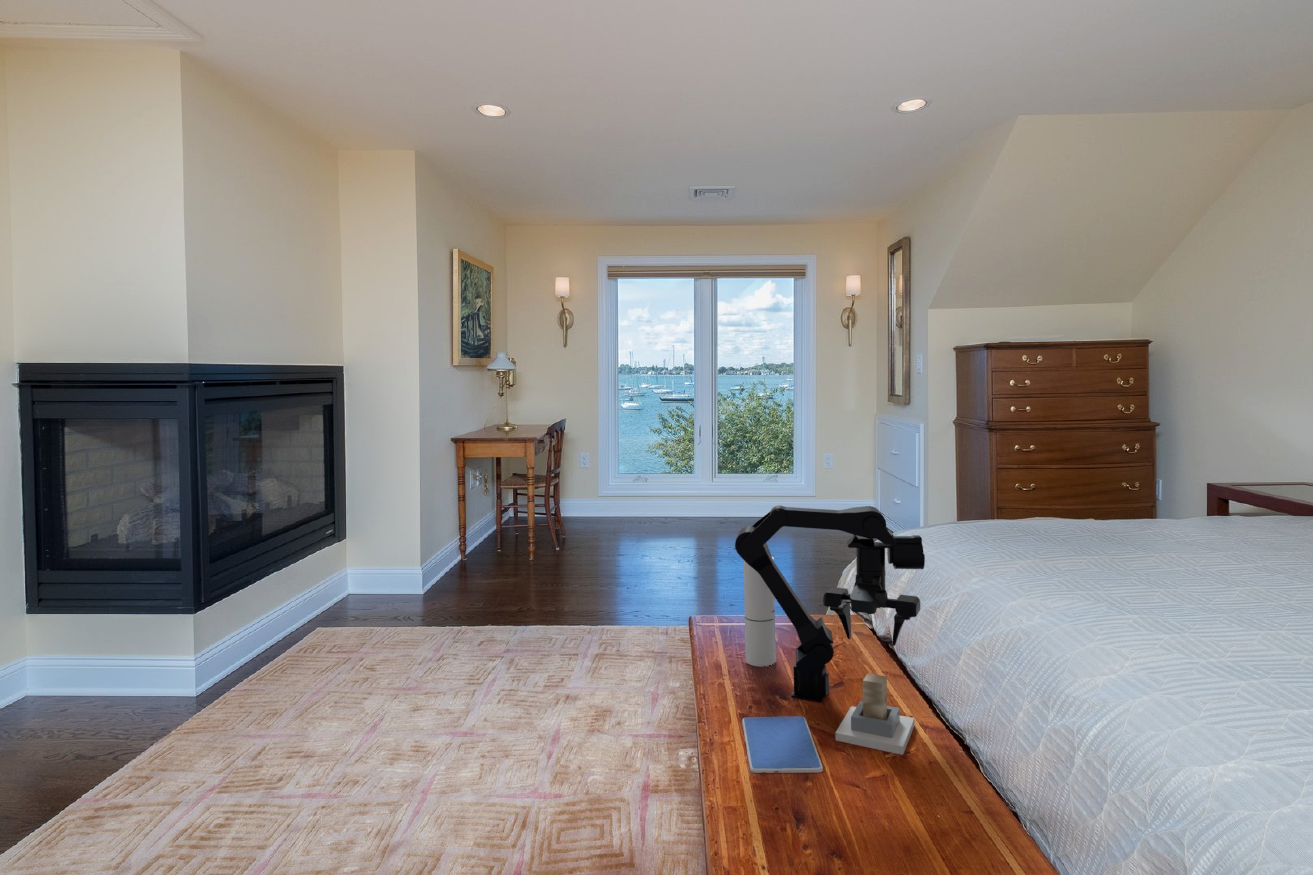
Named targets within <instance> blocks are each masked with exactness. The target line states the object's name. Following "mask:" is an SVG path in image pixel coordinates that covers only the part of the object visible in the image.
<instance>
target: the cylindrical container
mask: <svg viewBox="0 0 1313 875" xmlns="http://www.w3.org/2000/svg"><path fill="white" fill-rule="evenodd" d="M772 559H773V561H774V562H775V558H774V556H772ZM743 588H744V589H743V590H744V593H743V594H744V595H743V596H744V598H743V599H744V629H745V630H744V634H745V635H744V637H745V639H744V640H745V662H746V663H747V664H748V665H750V666H754V667H760V668H762V667H764V666H765V667H769V665H771V666H773V665H774V664H773V663H775V662H776V663H777V651H776V650H777V649H776V647H777V645H776V641H777V640H776V604H775V603H776V602H775V601H776V598H775V597H774V595H773V594H772V592H771V591H770V589H769V588H768V586H767V585H766V583H765V582H764V580H763V579H762V577H761V576H760V574H759V573H758V572H757V571H756V570H754V569H753V568H752V567H751V566H749V565H748V564H747V563H746V562H745V561H744V560H743ZM776 663H775V664H776ZM772 664H773V665H772Z"/></svg>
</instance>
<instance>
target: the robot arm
mask: <svg viewBox="0 0 1313 875" xmlns="http://www.w3.org/2000/svg"><path fill="white" fill-rule="evenodd" d="M783 527H785V528H786V527H788V528H791V527H792V528H805V529H817V530H835V531H840V532H844V533H847V534H850V535H852V537H850V538H849V539H848V540H847V541H846V545H847V548H850V549H855V551H856V552H855V554H856V556H855V557H856V565H855V566H856V570H855V571H856V574H855V578H854V579H855V580H854V581H855V583H854V586H853V587H852V588H853V589H852V591H851V593H849V589H848V588H844V587H835V586H831V587H830V588H829V589H828V590H827V591H826V592H825V593H824V594H823V597H822V598H823V602H822V604H823V606H824V607H827V608H829V610H830V611H832V612H835V614H836V615H837V616H838V618H839V620H840V622H841V624H842V627H843V630H844V633H845V636H846V638H847V639H848V640H850V639H851V638H852V618H851V611H852V612H853V613H856V614H857V613H862V614H863V613H864V614H867V615H874V614H876V612H877V609H883V608H884V609H885V608H886V609H895V615H894V616H893V631H892V646H896V644H897V641H898V639H899V635H900V634H901V630H902V628H903V625H904V623H905V621H910V620H911V618H916V617H917V616H918V614H919V612H920V610H921V599H920V598H919V597H918V596H916V595H908V594H907V595H906V594H899V596H898V597H897V598H896V599H895V598H890V597H889V598H888V592H887V590H886V555H887V563H888V564H889V565H892V567H893V568H894V570H924V568H925V564H926V563H925V562H926V556H925V555H926V554H924V553H925V552H924V546H923V538H922V537H921V535H918V534H917V535H914V534H913V535H905V536H904V535H903V536H902V535H901V536H900V535H894V534H893V532H892V531H891V530H890V529H888V528H887V521H886V518H885V516H884V515H883V514H882V512H881V511H880V510H879V509H878V508H877V507H875V506H871V505H865V506H856V507H850V508H845V509H837V510H836V509H826V508H825V509H823V508H811V507H810V508H808V507H807V508H806V507H794V506H792V507H791V506H783V505H776V506H774V507H772V508H771V509H770V511H769V512H768V513H766V514H765V515H764V516H762V517H761V518H760V519H758V520H757V521H756V522H755V523H754V524H752V525H750V526H749V525H748V526H745V527H743V528H741V529H740V530H739V532H738V534H737V536H736V539H735V542H734V547H735V549H734V550H735V551H736V553H737V554H738V555H739V556H740V558H741V559H742V560H743V562H744V561H745V562H746V563H747V564H748V565H749V566H751V567H752V568H753V569H754V570H756V571H757V572H758V573H759V574H760V576H761V577H762V579H763V580H764V582H765V583H766V585H767V586H768V588H769V589H770V591H771V592H772V594H773V595H774V597H775V601H777V603H778V605H779V606H780V608H781V609H782V610H783V613H785V615H786V617H787V618H788V619H789V621H790V623H791V624H792V626H793V627H794V629H795V631H796V634H797V636H798V639H799V642H800V645H798V646H797V647H796V649H795V664H793V691H792V693H791V698H795V699H796V698H797V699H801V700H806V701H811V702H817V703H822V702H823V701H824V699H825V698H826V697H827V696H828V694H829V693H830V674H829V673H828V672H827V664H828V663H830V662H831V661H832V660H833V658H834V655H835V652H834V645H833V644H834V638H833V633H832V632H833V631H832V630H831V629H829V628H828V627H827V626H826V623H825V622H824V619H823V617H822V616H820V617H819V618H818V619H815V618H814V617H813V616H811V614H810V613H809V612H808V611H807V609H806V607H805V606H804V605H803V603H802V602H801V600H800V598H799V597H798V595H797V594H796V592H795V591H794V589H793V588H792V586H791V585H790V583H789V582H788V581H787V578H785V576H784V574H783V573H782V572H781V569H780V568H779V567H778V565H777V564H776V563H775V560H774V561H773V559H772V557H773V556H772V554H771V550H770V548H769V546H768V544H767V542H769V541H770V540H771V538H772V537H774V536H775V534H777V532H778V531H779V530H781V529H782V528H783ZM860 537H861V538H860ZM874 539H876V540H877V541H874ZM886 550H887V554H886Z"/></svg>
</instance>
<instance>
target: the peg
mask: <svg viewBox="0 0 1313 875" xmlns="http://www.w3.org/2000/svg"><path fill="white" fill-rule="evenodd" d="M887 681H888V676H886V675H885V676H884V675H879V674H873V673H866V674H865V676H864V677H863V680H862V701H863V716H865V717H870V718H875V719H880V720H885V721H887V706H888V682H887Z"/></svg>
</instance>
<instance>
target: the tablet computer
mask: <svg viewBox="0 0 1313 875" xmlns="http://www.w3.org/2000/svg"><path fill="white" fill-rule="evenodd" d="M741 724H742V729H743V735H744V741H745V746H746V753H747V759H748V767H749V771H750V772H751V773H755V774H767V773H768V774H772V773H773V774H774V773H775V774H779V773H780V774H782V773H784V774H787V773H789V774H790V773H793V774H794V773H796V774H797V773H802V774H803V773H804V774H805V773H822V772H823V771H824V766H823V764H822V761H821V758H820V756H819V753H818V750H817V747H816V744H815V740H814V739H813V736H812V733H811V730H810V727H809V725H808V722H807V719H806V718H805V717H804V716H758V717H757V716H755V717H752V716H749V717H743V719H741Z"/></svg>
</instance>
